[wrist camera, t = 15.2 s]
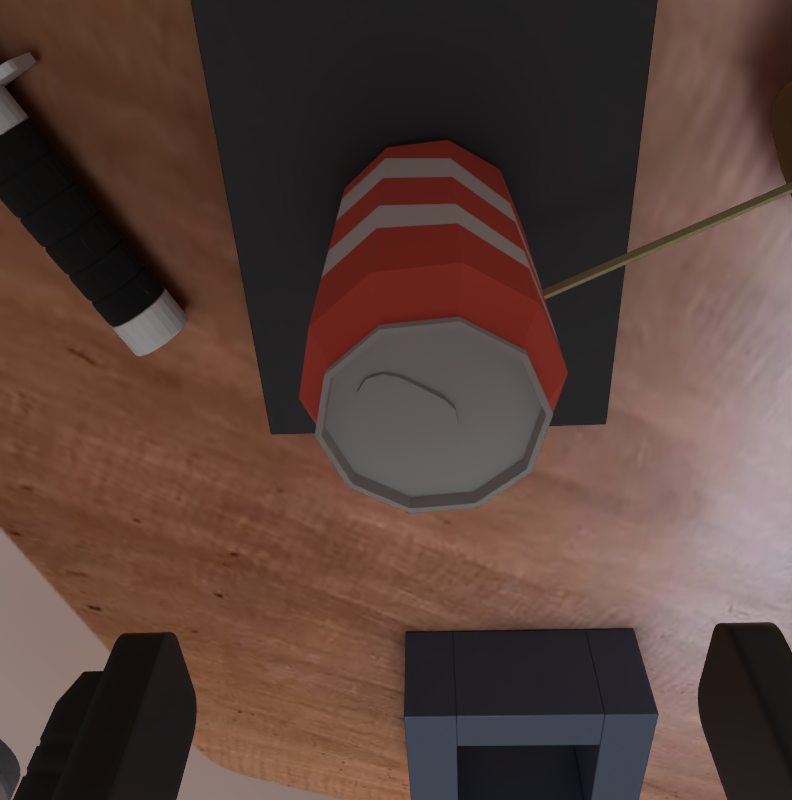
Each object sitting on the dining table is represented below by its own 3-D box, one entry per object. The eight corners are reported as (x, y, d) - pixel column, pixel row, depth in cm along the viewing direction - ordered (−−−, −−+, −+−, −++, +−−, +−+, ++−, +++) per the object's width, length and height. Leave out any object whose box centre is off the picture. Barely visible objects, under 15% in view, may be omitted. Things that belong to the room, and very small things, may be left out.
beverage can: (388, 99, 24) (366, 244, 14) (552, 194, 26) (637, 384, 16) (308, 255, 27) (244, 463, 17) (460, 331, 29) (481, 562, 19)
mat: (274, 421, 32) (270, 435, 32) (187, -67, 23) (177, -66, 22) (601, 411, 32) (606, 424, 31) (660, -98, 22) (670, -99, 21)
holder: (414, 759, 47) (414, 843, 42) (405, 632, 40) (403, 717, 36) (610, 757, 46) (629, 842, 42) (633, 628, 39) (659, 714, 35)
